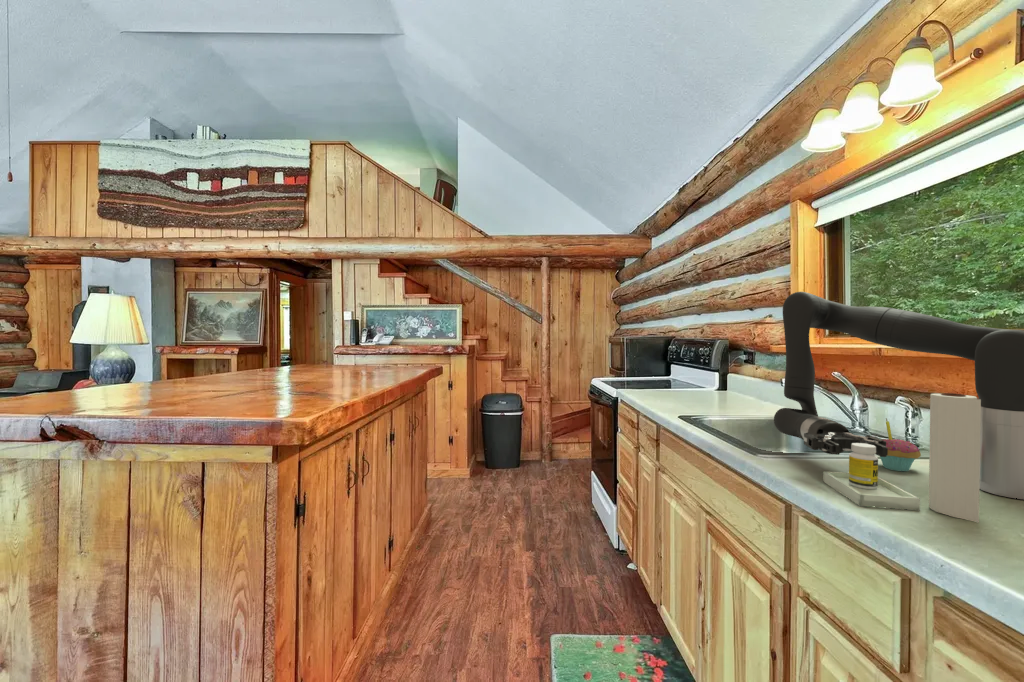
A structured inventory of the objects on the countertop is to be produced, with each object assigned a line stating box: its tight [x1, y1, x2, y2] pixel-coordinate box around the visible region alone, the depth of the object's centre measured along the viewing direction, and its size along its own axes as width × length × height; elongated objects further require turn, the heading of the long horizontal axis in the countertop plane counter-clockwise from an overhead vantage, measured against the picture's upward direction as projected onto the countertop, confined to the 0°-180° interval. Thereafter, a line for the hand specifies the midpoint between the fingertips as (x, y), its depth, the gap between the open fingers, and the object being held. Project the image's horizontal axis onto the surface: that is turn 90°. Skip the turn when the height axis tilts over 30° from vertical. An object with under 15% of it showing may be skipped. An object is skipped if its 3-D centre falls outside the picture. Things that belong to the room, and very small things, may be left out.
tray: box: [822, 470, 921, 512], centre depth 91 cm, size 10×15×2 cm, turn 168°
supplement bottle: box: [848, 443, 879, 489], centre depth 93 cm, size 5×5×8 cm
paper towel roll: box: [928, 392, 981, 524], centre depth 82 cm, size 7×6×21 cm
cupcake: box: [879, 417, 922, 472], centre depth 110 cm, size 9×8×12 cm
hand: (861, 450), depth 94 cm, fingers open, 8 cm apart
